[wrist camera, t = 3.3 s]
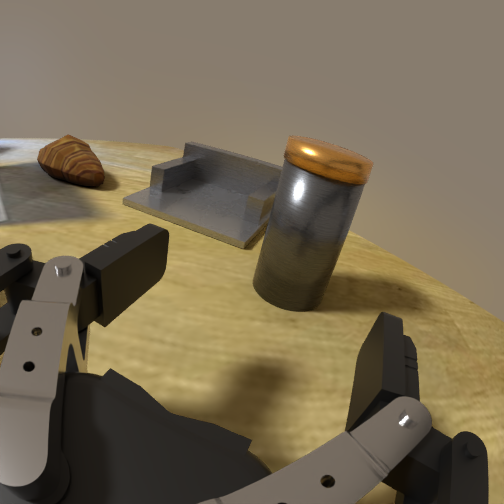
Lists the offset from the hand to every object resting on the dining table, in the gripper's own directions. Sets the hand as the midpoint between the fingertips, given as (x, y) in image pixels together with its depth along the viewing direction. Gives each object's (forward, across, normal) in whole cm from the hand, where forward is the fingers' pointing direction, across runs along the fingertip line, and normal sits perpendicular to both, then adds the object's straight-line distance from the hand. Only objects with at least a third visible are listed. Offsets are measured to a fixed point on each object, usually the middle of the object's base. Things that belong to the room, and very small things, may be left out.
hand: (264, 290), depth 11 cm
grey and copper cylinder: (+10, 0, +6) cm, 12 cm away
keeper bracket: (+20, +11, +6) cm, 23 cm away
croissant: (+15, +28, +6) cm, 33 cm away
